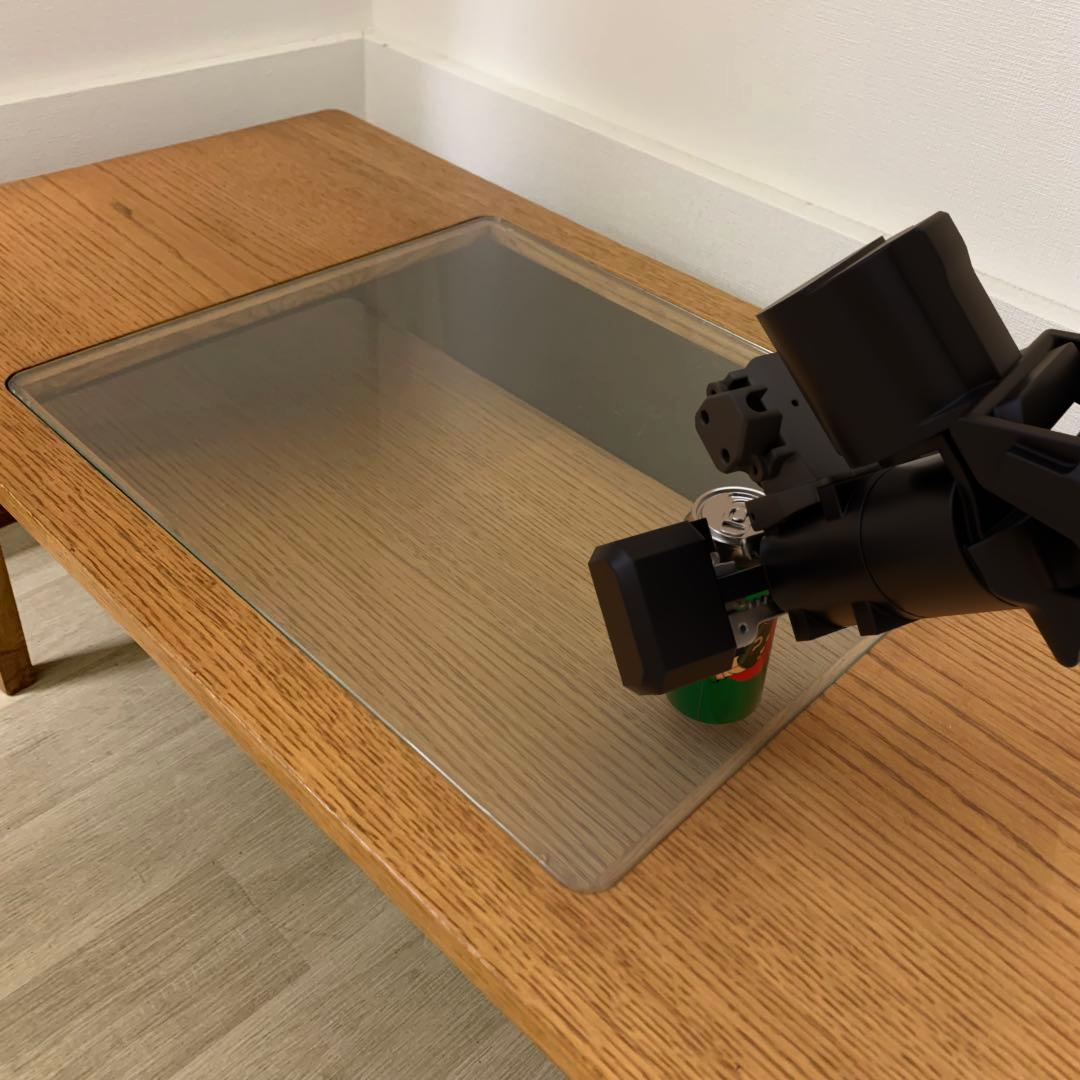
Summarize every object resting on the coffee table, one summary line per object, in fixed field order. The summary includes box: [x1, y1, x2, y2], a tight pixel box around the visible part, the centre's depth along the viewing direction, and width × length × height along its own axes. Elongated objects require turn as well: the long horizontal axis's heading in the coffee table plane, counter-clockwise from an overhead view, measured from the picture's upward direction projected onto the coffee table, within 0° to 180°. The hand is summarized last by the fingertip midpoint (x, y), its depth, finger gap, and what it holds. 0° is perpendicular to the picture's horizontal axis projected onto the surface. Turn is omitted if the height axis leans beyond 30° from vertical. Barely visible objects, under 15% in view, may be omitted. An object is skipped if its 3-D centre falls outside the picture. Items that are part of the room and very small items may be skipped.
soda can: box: [664, 485, 779, 726], centre depth 55 cm, size 5×5×12 cm
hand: (706, 581), depth 55 cm, fingers closed on soda can, 5 cm apart
